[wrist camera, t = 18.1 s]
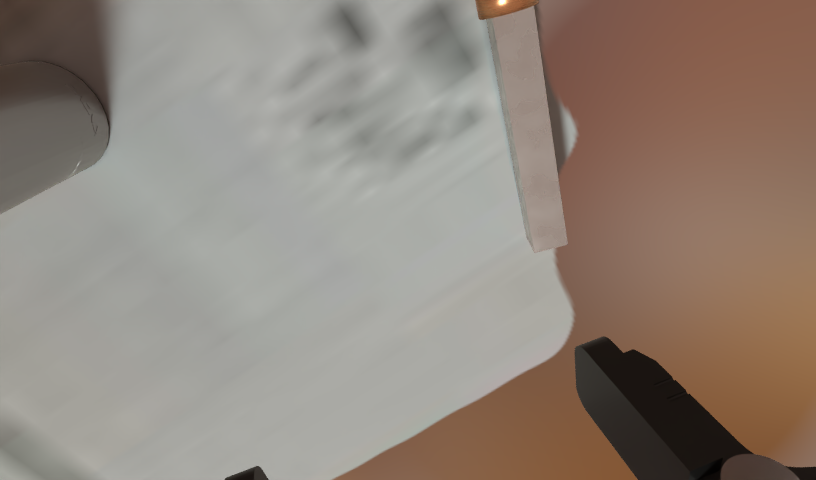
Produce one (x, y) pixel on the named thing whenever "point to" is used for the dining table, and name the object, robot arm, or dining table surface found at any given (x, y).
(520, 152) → the rod
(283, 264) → the dining table surface
